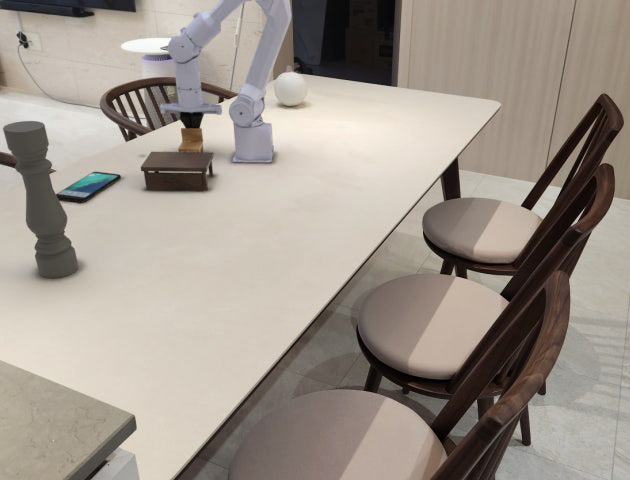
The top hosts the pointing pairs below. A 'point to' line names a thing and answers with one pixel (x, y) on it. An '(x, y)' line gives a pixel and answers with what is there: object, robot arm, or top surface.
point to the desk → (177, 164)
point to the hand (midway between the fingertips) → (194, 141)
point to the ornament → (290, 88)
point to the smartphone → (88, 186)
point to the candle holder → (41, 199)
